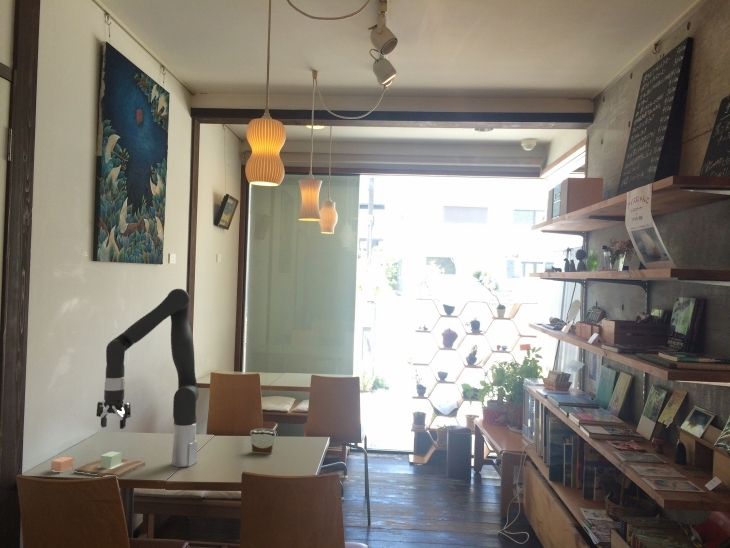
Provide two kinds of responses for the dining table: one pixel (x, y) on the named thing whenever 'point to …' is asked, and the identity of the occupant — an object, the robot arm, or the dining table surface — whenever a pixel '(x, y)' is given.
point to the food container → (262, 440)
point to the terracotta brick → (62, 463)
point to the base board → (117, 470)
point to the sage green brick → (110, 459)
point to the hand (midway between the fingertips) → (112, 427)
